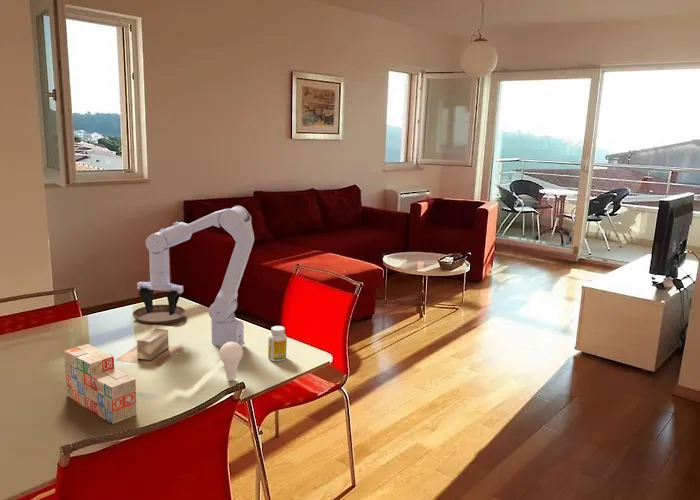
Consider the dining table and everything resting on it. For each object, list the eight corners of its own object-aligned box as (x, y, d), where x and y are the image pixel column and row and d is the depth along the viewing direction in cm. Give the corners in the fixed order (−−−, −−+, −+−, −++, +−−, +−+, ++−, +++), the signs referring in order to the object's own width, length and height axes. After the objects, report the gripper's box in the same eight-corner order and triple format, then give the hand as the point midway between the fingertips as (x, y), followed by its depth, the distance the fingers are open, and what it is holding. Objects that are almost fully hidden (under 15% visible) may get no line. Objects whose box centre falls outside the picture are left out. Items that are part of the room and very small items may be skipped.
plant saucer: (196, 317, 201) (196, 309, 201) (162, 332, 185) (162, 323, 184) (157, 309, 208) (157, 301, 207) (121, 323, 192) (120, 315, 191)
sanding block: (168, 348, 167) (168, 329, 166) (150, 361, 158) (149, 341, 157) (156, 347, 168) (155, 328, 167) (137, 360, 159) (136, 340, 157)
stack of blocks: (137, 415, 132) (135, 366, 129) (112, 425, 127) (110, 375, 125) (90, 387, 145) (88, 342, 142) (66, 395, 140) (63, 349, 137)
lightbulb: (246, 378, 154) (247, 340, 151) (235, 387, 148) (235, 348, 146) (227, 374, 156) (227, 336, 153) (215, 383, 150) (214, 344, 148)
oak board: (184, 352, 169) (184, 347, 169) (160, 371, 156) (160, 365, 155) (142, 346, 172) (142, 342, 172) (115, 364, 158) (114, 359, 158)
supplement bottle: (264, 359, 167) (265, 328, 165) (275, 353, 171) (275, 323, 169) (279, 363, 164) (280, 332, 162) (289, 357, 169) (290, 327, 167)
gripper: (130, 271, 170) (132, 314, 173) (174, 276, 167) (175, 319, 170) (143, 266, 177) (145, 307, 179) (186, 270, 174) (186, 312, 177)
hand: (160, 312), depth 175 cm, fingers open, 7 cm apart
